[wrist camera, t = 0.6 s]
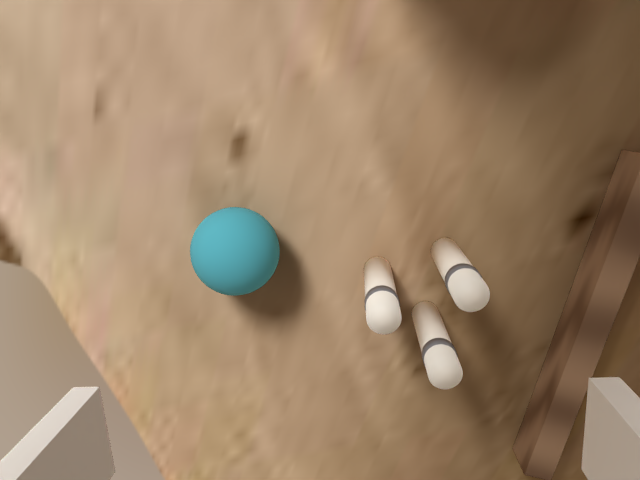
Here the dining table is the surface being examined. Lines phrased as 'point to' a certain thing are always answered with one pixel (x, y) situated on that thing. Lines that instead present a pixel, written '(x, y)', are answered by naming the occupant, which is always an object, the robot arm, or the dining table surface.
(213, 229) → the teal ball
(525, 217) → the dining table surface
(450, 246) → the pin
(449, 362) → the pin
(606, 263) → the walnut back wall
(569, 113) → the dining table surface
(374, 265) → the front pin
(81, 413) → the robot arm
